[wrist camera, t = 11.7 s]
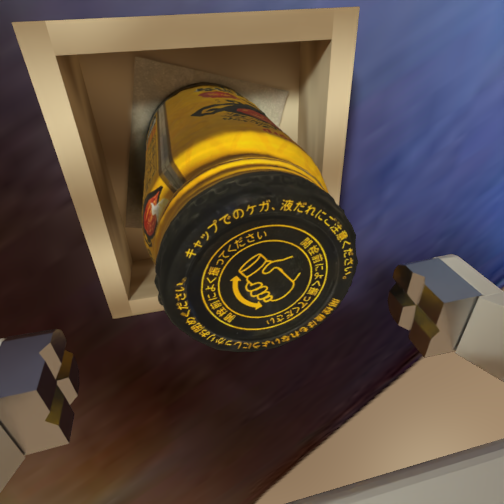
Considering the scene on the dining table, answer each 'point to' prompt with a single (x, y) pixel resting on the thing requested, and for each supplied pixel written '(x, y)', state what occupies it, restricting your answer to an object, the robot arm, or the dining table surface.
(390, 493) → the robot arm
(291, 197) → the condiment
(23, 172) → the dining table surface
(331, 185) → the caddy
